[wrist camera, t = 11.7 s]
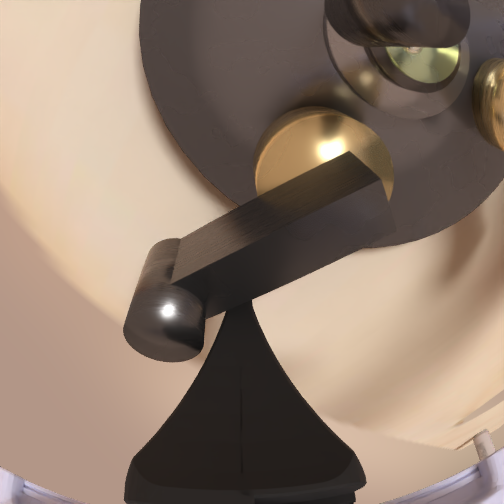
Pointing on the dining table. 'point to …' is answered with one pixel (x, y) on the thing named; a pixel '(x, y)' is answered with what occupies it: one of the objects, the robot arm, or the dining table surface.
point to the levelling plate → (324, 97)
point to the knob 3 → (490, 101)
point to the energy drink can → (484, 444)
